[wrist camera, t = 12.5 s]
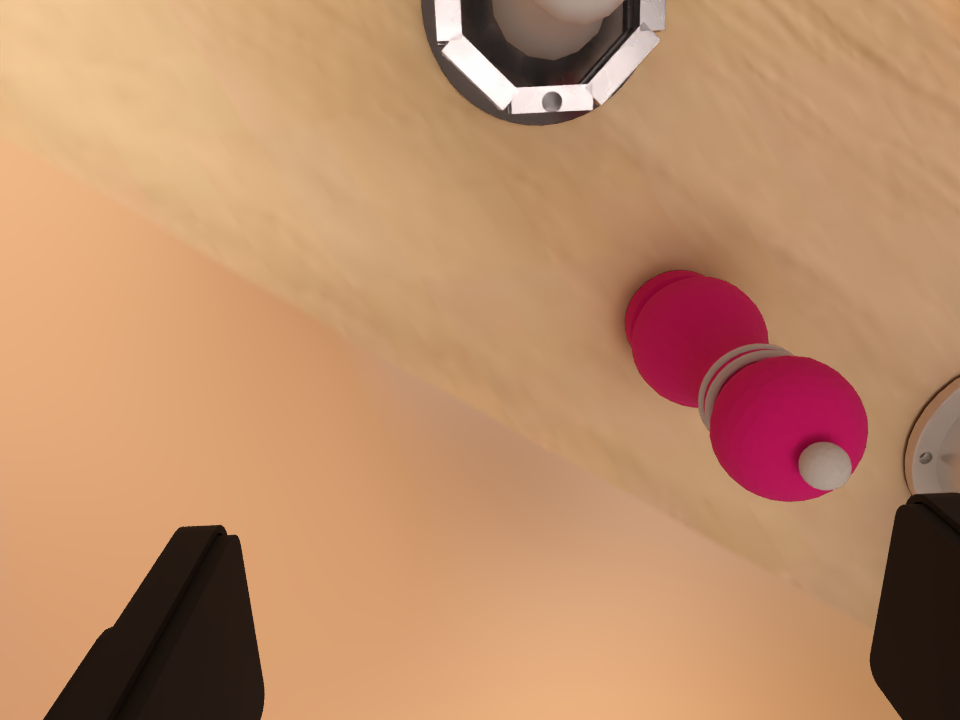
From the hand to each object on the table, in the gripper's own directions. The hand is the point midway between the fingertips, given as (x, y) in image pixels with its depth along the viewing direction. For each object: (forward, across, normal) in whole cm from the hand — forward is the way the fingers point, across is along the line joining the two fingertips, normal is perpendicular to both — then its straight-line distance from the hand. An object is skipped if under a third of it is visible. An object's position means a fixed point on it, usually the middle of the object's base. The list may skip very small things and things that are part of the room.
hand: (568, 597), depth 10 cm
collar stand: (+34, -3, -12) cm, 36 cm away
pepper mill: (+34, -12, +6) cm, 37 cm away
